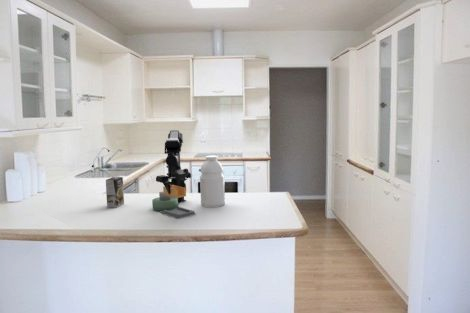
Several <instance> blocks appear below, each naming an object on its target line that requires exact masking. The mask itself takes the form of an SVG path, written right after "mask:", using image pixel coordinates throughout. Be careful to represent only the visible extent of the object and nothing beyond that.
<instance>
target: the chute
mask: <svg viewBox="0 0 470 313" xmlns="http://www.w3.org/2000/svg"><path fill="white" fill-rule="evenodd" d="M162 191H163V194H164V195H167V196H170V197H174V198H180V197H184V198H185V197H187V187H186V188H184V187H180V186H175V185H171V188H170V194H168V192H167V190H166V188H165V186H164V185H163V187H162Z"/></svg>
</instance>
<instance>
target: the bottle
mask: <svg viewBox="0 0 470 313" xmlns="http://www.w3.org/2000/svg"><path fill="white" fill-rule="evenodd" d="M223 172H224V168H223V165H222V164H221V162H220V161H219V160H218V155H206V156H205V161H204V162H203V163H202V165H201V166H200V173H201V175H200V176H199V180H200V181H199V184H200V205H201V206H202V207H204V208H218V207H223V206H224V205H225V204H226V200H225V199H226V196H225V175H224V174H223Z"/></svg>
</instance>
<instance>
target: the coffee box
mask: <svg viewBox="0 0 470 313" xmlns="http://www.w3.org/2000/svg"><path fill="white" fill-rule="evenodd" d="M105 191H106V207H107V208H115V209H117V208H119V207H121V206H123V205H124V204H125V194H124V177H123V176H113V177H110V178H107V179H105Z"/></svg>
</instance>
